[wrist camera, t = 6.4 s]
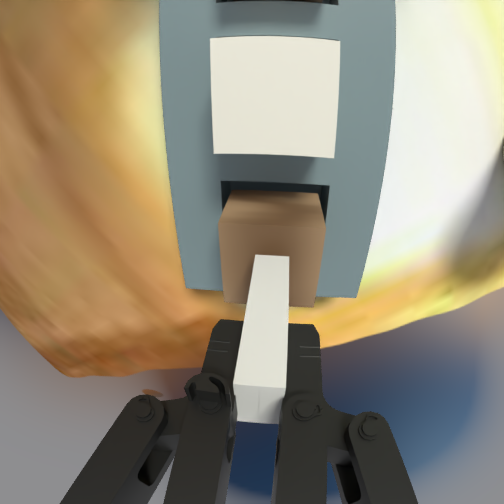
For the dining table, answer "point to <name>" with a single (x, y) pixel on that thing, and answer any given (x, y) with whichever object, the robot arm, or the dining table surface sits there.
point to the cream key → (274, 95)
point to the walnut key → (271, 240)
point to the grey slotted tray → (278, 166)
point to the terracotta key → (299, 0)
